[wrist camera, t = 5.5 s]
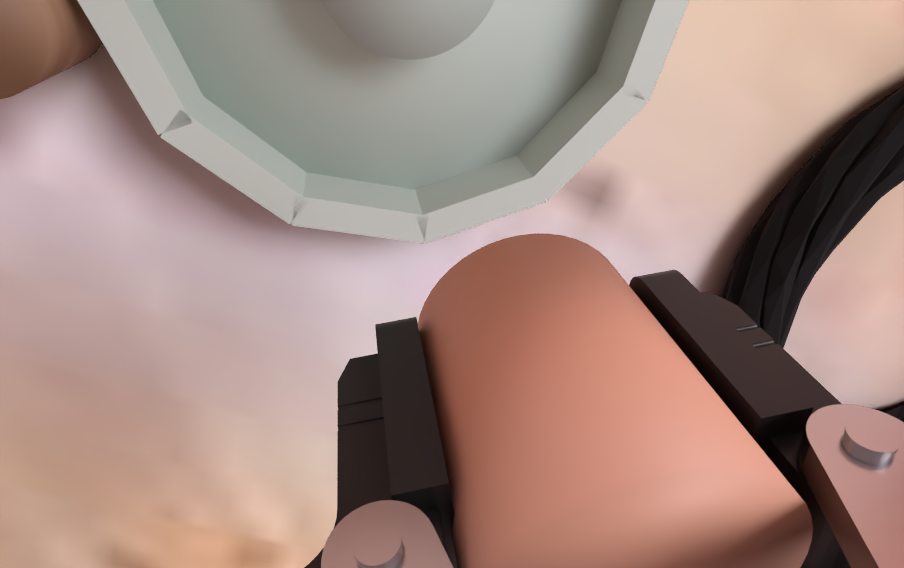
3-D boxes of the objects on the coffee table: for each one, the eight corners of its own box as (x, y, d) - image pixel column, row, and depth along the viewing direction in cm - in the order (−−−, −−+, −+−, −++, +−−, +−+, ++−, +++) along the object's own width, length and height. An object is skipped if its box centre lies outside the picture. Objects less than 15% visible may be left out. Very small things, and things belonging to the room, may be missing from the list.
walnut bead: (25, 80, 20) (-56, 119, 16) (-61, -44, 18) (-181, -37, 14) (131, 43, 20) (77, 73, 16) (57, -86, 18) (-28, -91, 14)
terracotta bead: (400, 256, 9) (449, 522, 5) (632, 215, 10) (856, 434, 5) (431, 426, 12) (482, 709, 7) (619, 387, 12) (773, 638, 8)
